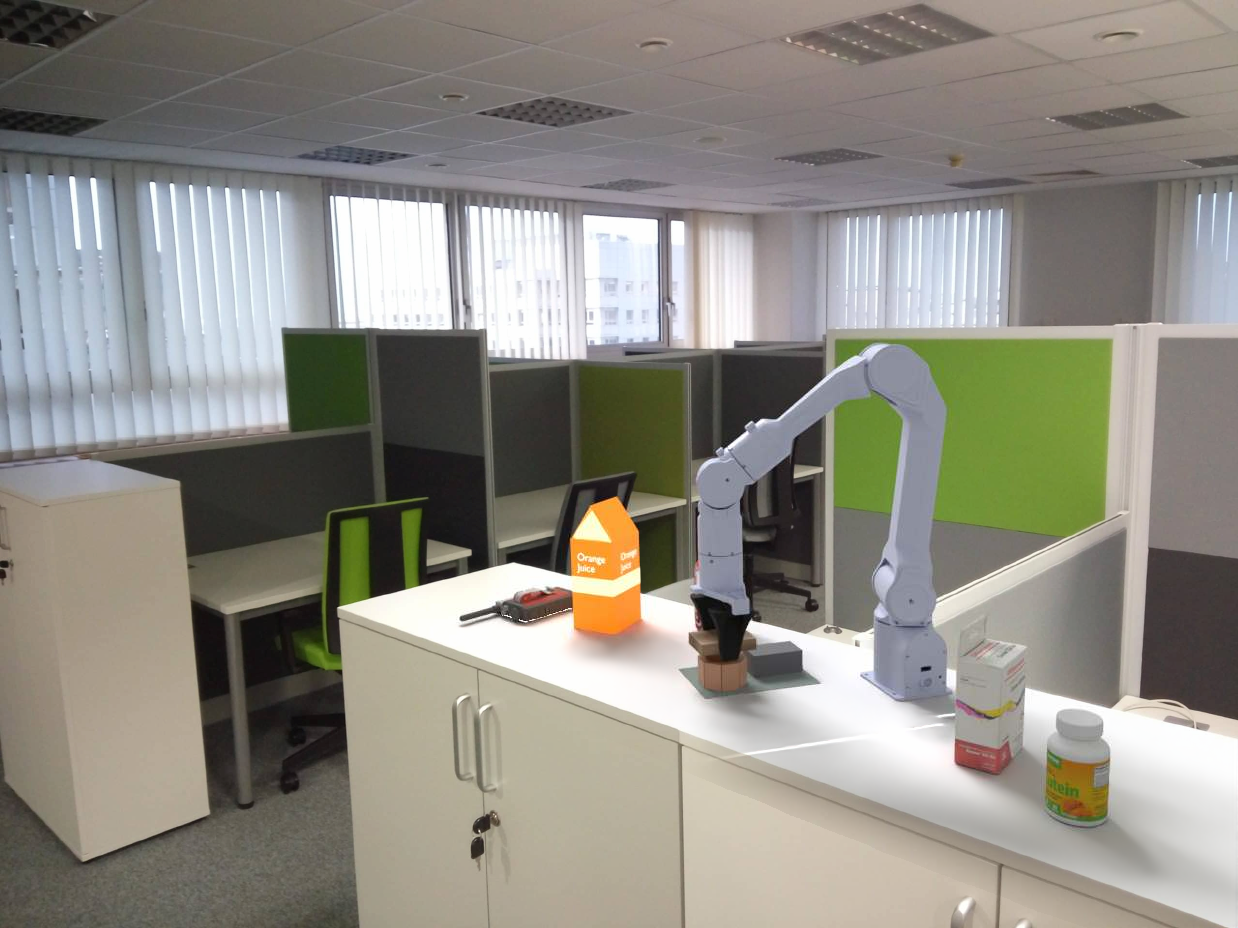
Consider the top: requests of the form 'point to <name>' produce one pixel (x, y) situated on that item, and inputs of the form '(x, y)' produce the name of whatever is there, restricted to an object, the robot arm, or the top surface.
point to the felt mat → (752, 683)
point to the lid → (716, 642)
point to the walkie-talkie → (529, 604)
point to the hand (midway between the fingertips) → (722, 652)
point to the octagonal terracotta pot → (722, 672)
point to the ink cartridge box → (988, 699)
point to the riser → (774, 659)
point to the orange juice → (606, 569)
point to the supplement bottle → (1078, 769)
